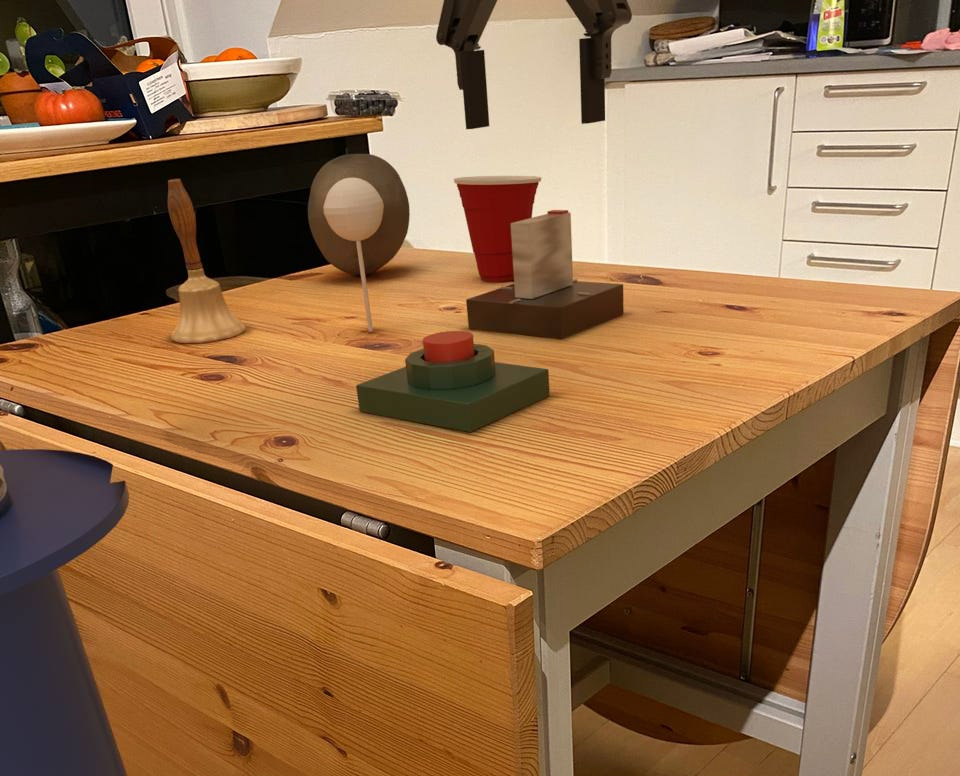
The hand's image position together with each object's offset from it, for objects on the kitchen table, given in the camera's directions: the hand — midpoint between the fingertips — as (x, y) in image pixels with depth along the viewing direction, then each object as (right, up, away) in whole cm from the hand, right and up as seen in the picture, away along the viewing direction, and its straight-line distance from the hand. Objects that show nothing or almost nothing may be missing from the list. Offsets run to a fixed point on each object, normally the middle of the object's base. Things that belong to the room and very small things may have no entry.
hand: (533, 125), depth 92 cm
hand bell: (-36, -14, +19) cm, 42 cm away
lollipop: (-17, -15, +13) cm, 26 cm away
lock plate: (+2, -15, +10) cm, 18 cm away
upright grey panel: (+2, -13, +8) cm, 15 cm away
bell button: (-7, -26, -14) cm, 31 cm away
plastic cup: (-2, -2, +33) cm, 33 cm away
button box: (-7, -29, -12) cm, 33 cm away
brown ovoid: (-20, +2, +43) cm, 48 cm away
